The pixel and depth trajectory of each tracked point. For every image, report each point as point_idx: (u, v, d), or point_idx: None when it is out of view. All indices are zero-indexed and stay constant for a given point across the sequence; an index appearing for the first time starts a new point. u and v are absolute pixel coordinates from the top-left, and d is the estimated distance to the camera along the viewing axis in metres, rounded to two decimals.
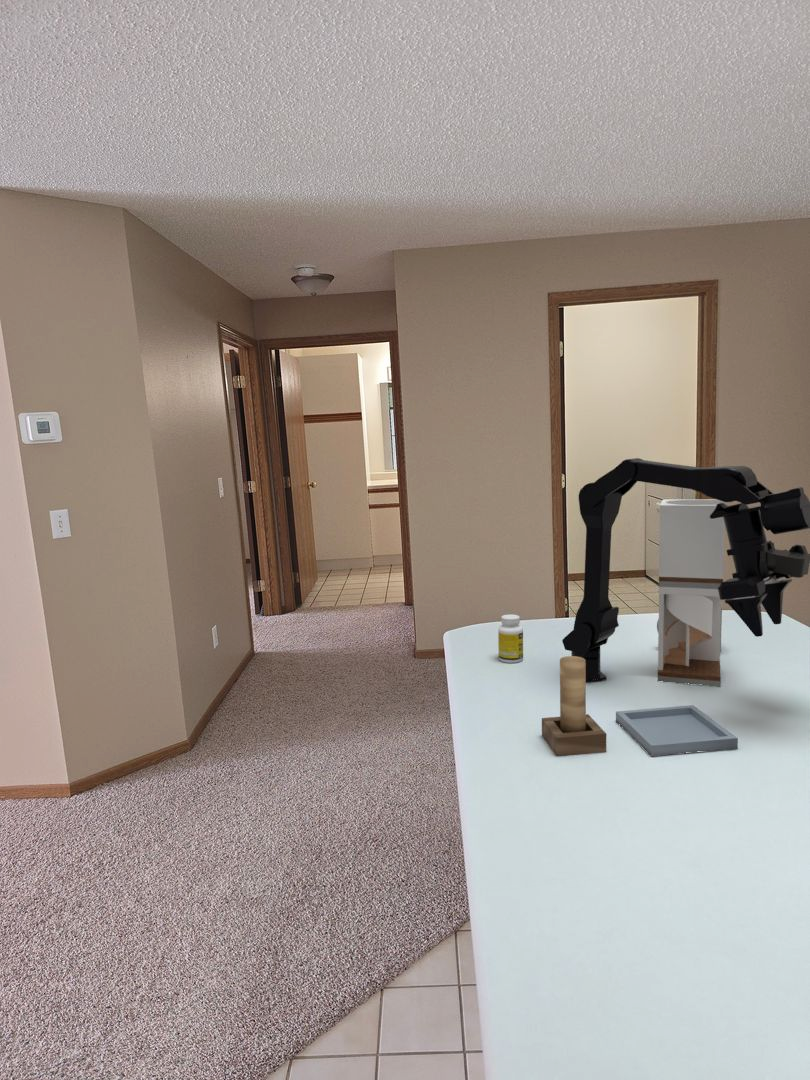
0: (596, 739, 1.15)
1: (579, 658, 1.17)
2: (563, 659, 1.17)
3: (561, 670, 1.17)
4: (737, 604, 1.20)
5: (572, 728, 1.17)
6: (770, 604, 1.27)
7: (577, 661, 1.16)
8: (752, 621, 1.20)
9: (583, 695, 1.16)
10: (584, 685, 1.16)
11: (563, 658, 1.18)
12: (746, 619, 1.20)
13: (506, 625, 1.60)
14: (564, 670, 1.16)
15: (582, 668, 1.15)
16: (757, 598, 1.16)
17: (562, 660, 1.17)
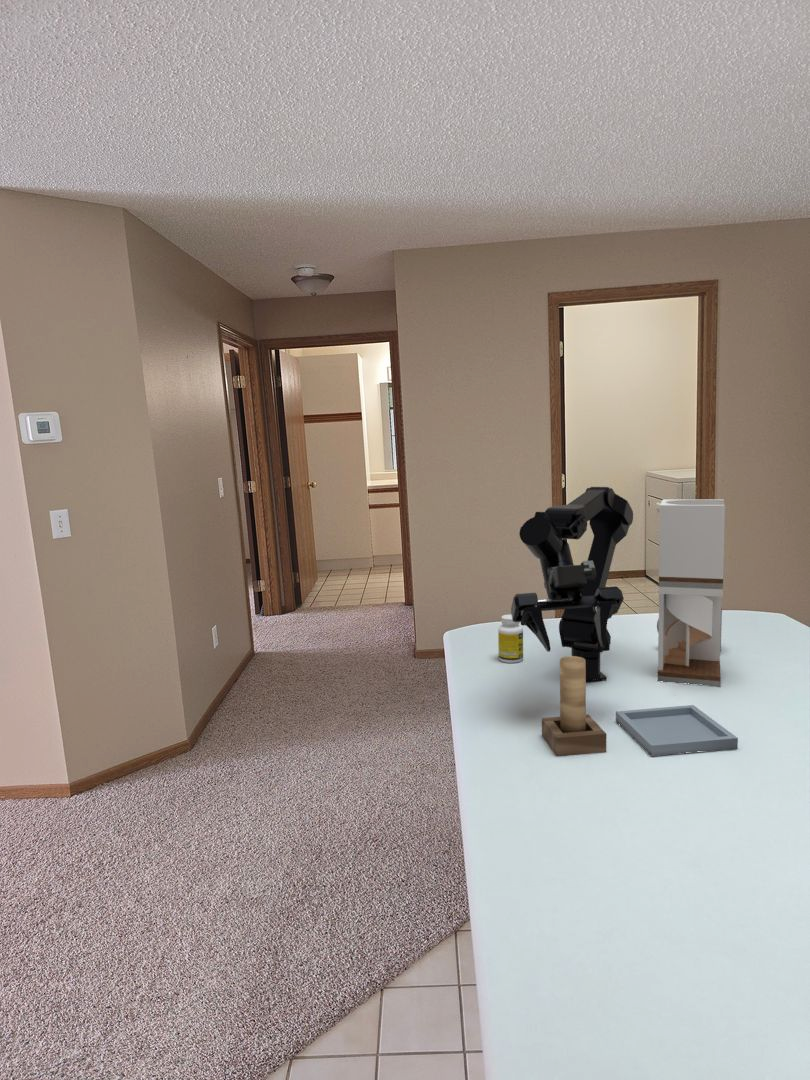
0: (596, 739, 1.15)
1: (579, 658, 1.17)
2: (563, 659, 1.17)
3: (561, 670, 1.17)
4: (531, 624, 1.28)
5: (572, 728, 1.17)
6: (598, 629, 1.26)
7: (577, 661, 1.16)
8: (540, 636, 1.25)
9: (583, 695, 1.16)
10: (584, 685, 1.16)
11: (563, 658, 1.18)
12: (538, 637, 1.26)
13: (506, 625, 1.60)
14: (565, 670, 1.16)
15: (583, 668, 1.15)
16: (524, 610, 1.25)
17: (562, 660, 1.17)
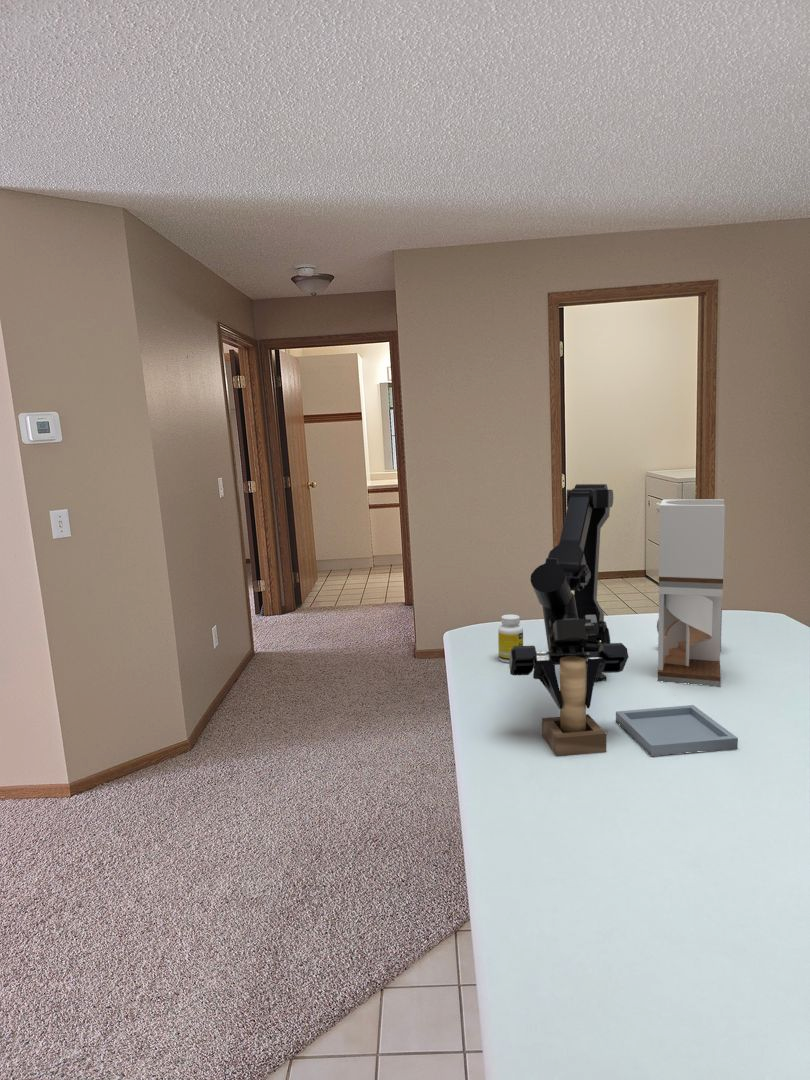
0: (596, 739, 1.15)
1: (579, 658, 1.17)
2: (563, 659, 1.17)
3: (561, 670, 1.17)
4: (543, 678, 1.21)
5: (572, 728, 1.17)
6: None
7: (577, 661, 1.16)
8: (552, 692, 1.18)
9: (583, 695, 1.16)
10: (584, 685, 1.16)
11: (563, 658, 1.18)
12: (550, 692, 1.19)
13: (506, 625, 1.60)
14: (565, 670, 1.16)
15: (583, 668, 1.15)
16: (536, 663, 1.19)
17: (562, 660, 1.17)
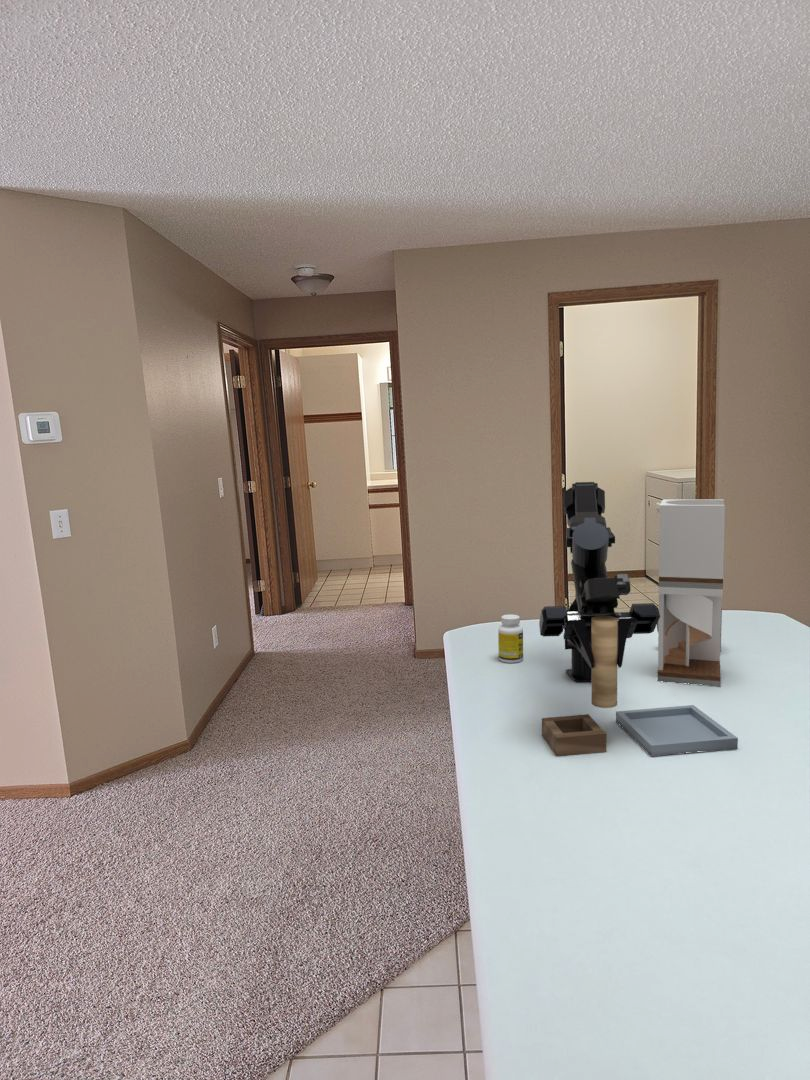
0: (596, 739, 1.15)
1: (610, 618, 1.17)
2: (595, 618, 1.17)
3: (593, 629, 1.16)
4: (574, 639, 1.21)
5: (604, 687, 1.16)
6: None
7: (609, 620, 1.15)
8: (583, 652, 1.18)
9: (615, 654, 1.16)
10: (616, 644, 1.16)
11: (594, 617, 1.17)
12: (581, 652, 1.19)
13: (506, 625, 1.60)
14: (596, 629, 1.15)
15: (615, 627, 1.15)
16: (567, 623, 1.18)
17: (594, 619, 1.16)
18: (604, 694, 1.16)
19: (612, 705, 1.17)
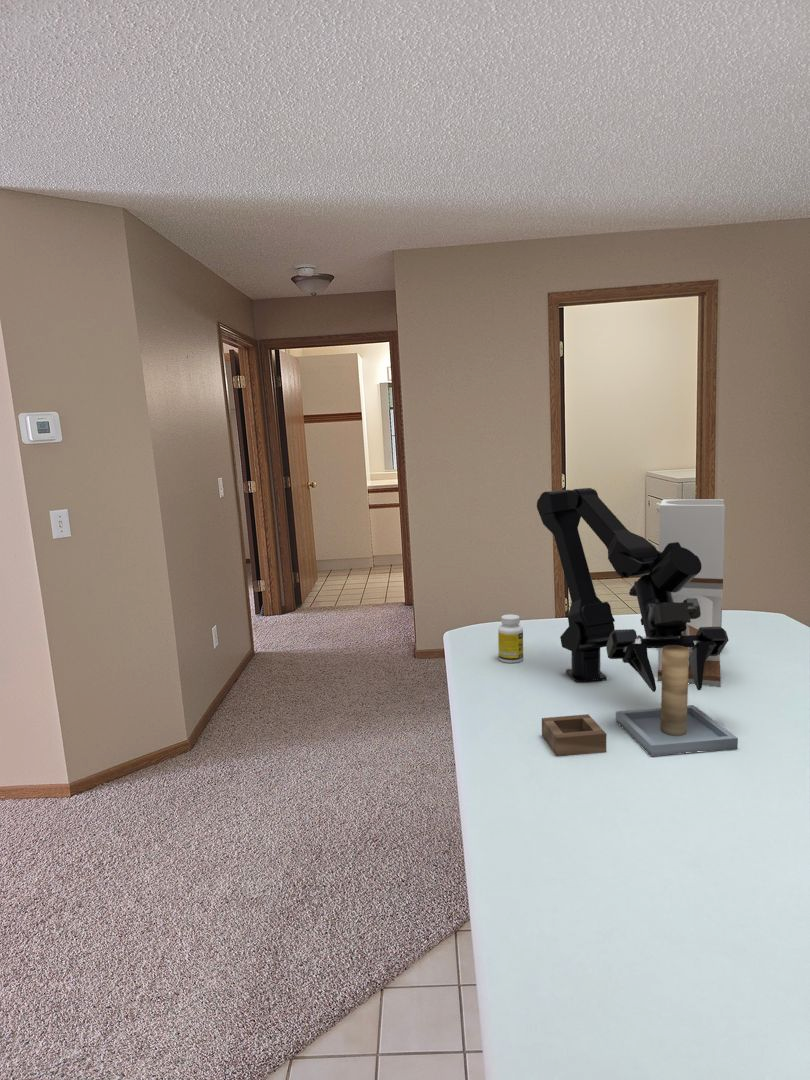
0: (596, 739, 1.15)
1: (681, 647, 1.19)
2: (666, 647, 1.19)
3: (664, 659, 1.18)
4: (634, 662, 1.23)
5: (675, 716, 1.18)
6: (694, 670, 1.20)
7: (681, 650, 1.17)
8: (644, 675, 1.20)
9: (686, 683, 1.18)
10: (687, 673, 1.18)
11: (665, 647, 1.19)
12: (642, 675, 1.21)
13: (506, 625, 1.60)
14: (669, 659, 1.17)
15: (687, 657, 1.17)
16: (628, 646, 1.20)
17: (665, 649, 1.18)
18: (675, 723, 1.18)
19: (682, 733, 1.19)
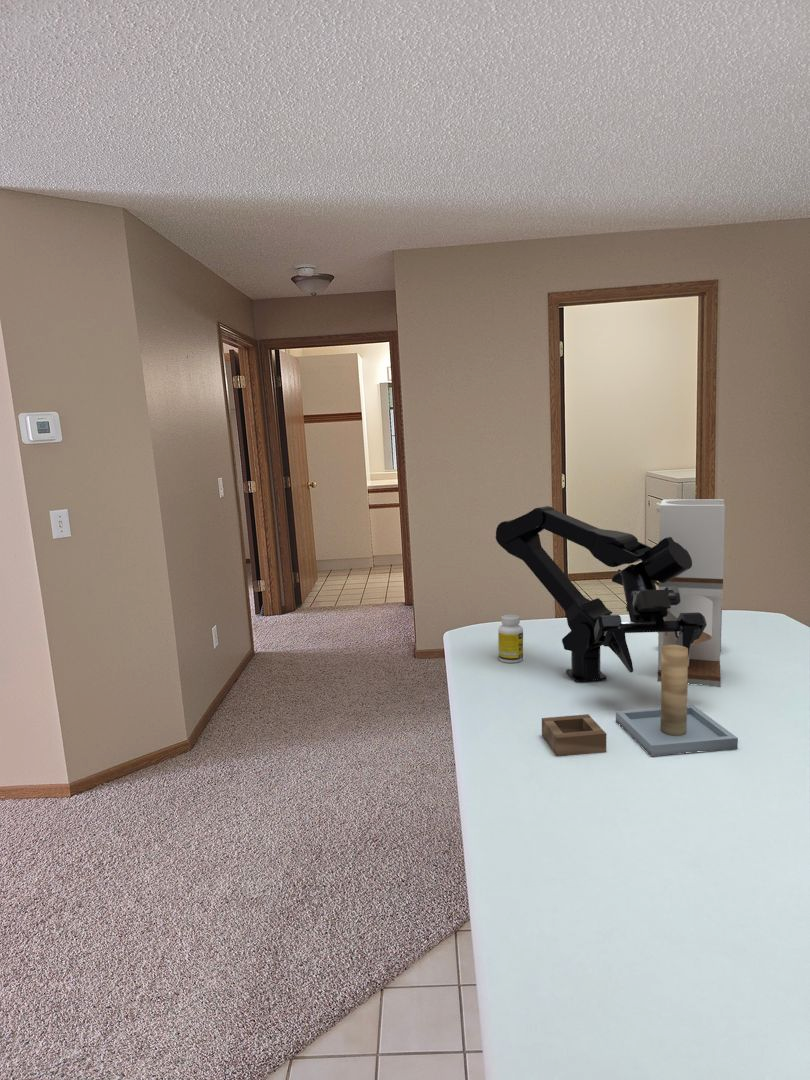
0: (596, 739, 1.15)
1: (680, 647, 1.19)
2: (665, 647, 1.19)
3: (664, 658, 1.18)
4: (613, 645, 1.32)
5: (675, 716, 1.18)
6: None
7: (680, 650, 1.18)
8: (623, 657, 1.29)
9: (686, 683, 1.18)
10: (686, 673, 1.18)
11: (664, 647, 1.19)
12: (621, 658, 1.30)
13: (506, 625, 1.60)
14: (668, 659, 1.17)
15: (686, 656, 1.17)
16: (607, 631, 1.30)
17: (664, 648, 1.18)
18: (674, 723, 1.18)
19: (682, 733, 1.19)
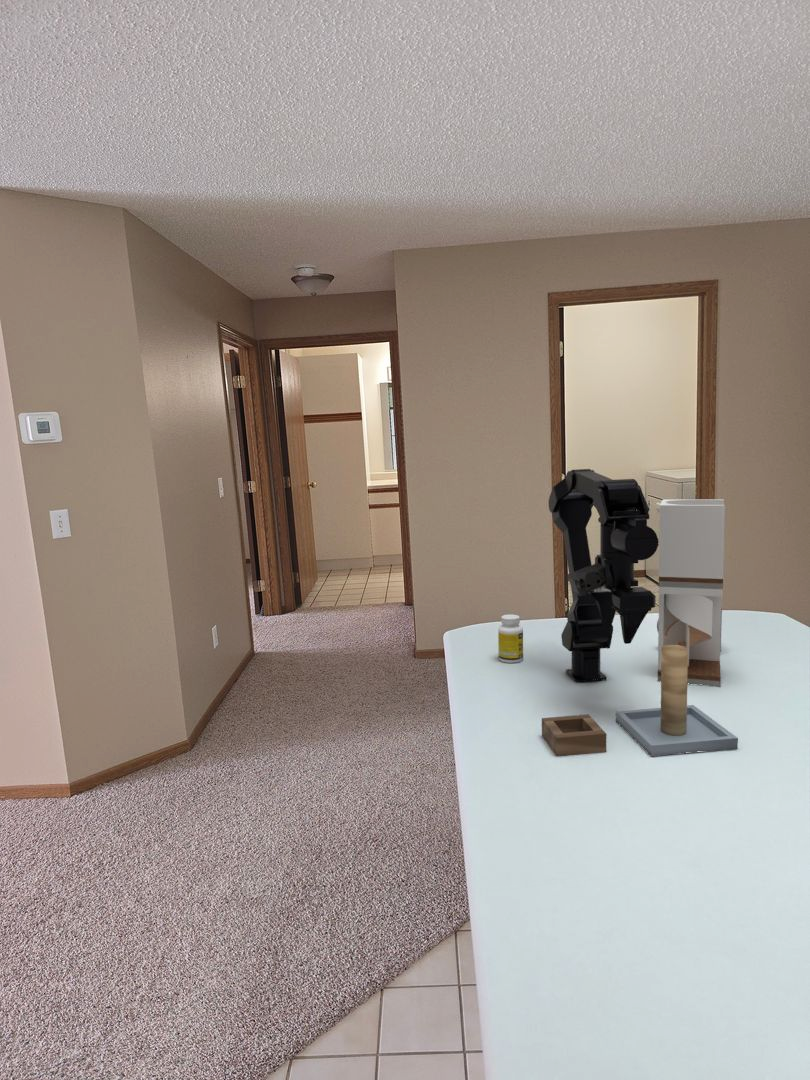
0: (596, 739, 1.15)
1: (680, 647, 1.19)
2: (665, 647, 1.19)
3: (663, 658, 1.18)
4: None
5: (674, 716, 1.18)
6: None
7: (680, 650, 1.18)
8: None
9: (685, 683, 1.18)
10: (686, 673, 1.18)
11: (664, 647, 1.19)
12: None
13: (506, 625, 1.60)
14: (668, 659, 1.17)
15: (686, 656, 1.17)
16: None
17: (664, 648, 1.19)
18: (674, 723, 1.18)
19: (682, 733, 1.19)
